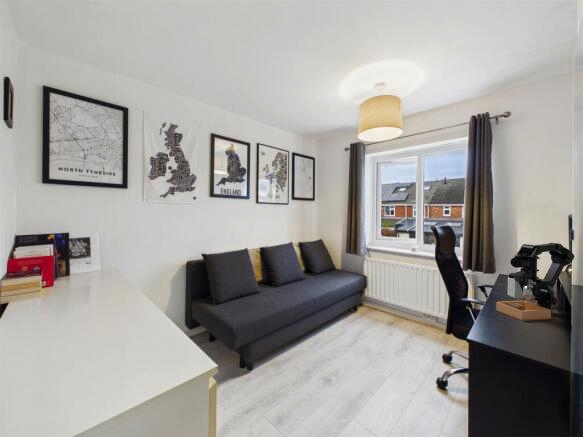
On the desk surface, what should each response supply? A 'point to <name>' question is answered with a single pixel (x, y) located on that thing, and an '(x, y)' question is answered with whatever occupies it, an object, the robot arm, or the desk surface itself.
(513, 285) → the supplement box
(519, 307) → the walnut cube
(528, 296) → the grey cylinder
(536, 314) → the tote
